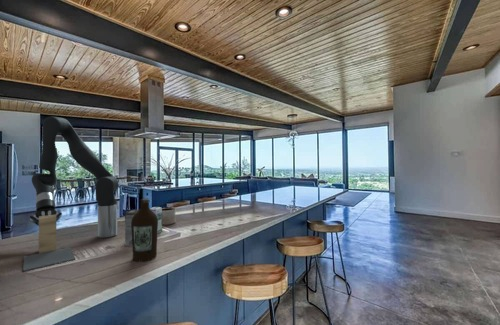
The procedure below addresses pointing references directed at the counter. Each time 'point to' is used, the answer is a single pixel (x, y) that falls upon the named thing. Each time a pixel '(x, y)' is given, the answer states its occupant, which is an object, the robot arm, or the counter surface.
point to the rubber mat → (47, 259)
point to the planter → (168, 216)
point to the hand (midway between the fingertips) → (46, 231)
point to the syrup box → (159, 215)
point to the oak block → (47, 233)
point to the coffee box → (129, 227)
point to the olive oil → (144, 233)
